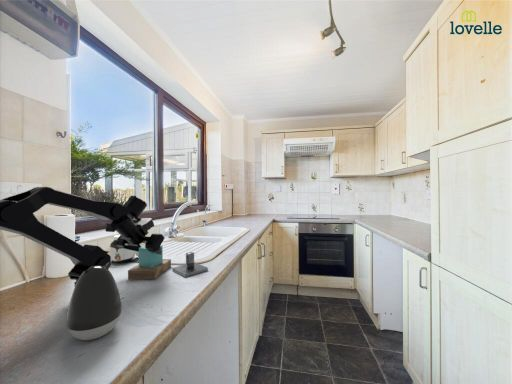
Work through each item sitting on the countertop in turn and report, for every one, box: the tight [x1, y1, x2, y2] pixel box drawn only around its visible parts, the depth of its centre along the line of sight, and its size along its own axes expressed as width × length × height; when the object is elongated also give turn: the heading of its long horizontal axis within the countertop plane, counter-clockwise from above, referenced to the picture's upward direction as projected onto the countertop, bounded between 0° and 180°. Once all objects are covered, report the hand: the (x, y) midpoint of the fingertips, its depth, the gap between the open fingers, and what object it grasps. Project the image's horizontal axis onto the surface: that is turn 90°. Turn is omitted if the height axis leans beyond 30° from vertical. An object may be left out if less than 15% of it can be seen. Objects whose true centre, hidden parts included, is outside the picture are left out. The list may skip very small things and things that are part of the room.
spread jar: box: [109, 234, 139, 264], centre depth 106 cm, size 12×11×12 cm
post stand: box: [171, 251, 209, 278], centre depth 91 cm, size 10×10×7 cm
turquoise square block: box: [138, 244, 164, 268], centre depth 90 cm, size 6×6×7 cm
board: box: [127, 258, 172, 280], centre depth 90 cm, size 14×10×3 cm
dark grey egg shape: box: [65, 262, 123, 341], centre depth 52 cm, size 10×10×15 cm
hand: (151, 252), depth 90 cm, fingers open, 9 cm apart
